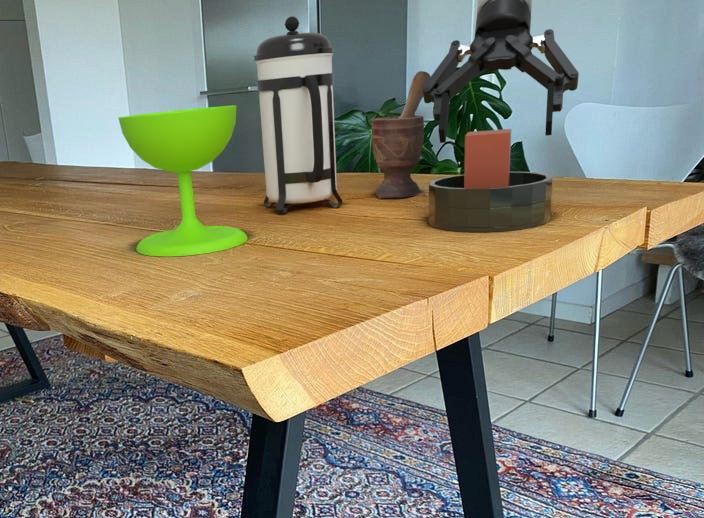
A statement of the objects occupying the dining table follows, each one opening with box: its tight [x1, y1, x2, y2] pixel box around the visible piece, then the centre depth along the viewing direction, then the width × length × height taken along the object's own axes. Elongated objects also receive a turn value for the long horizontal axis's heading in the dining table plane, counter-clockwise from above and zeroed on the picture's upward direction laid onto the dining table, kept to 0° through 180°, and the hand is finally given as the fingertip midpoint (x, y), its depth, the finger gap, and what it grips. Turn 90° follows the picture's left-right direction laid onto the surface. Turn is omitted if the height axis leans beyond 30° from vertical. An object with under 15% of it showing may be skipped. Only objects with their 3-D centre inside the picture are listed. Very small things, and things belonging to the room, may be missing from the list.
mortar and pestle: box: [370, 70, 432, 200], centre depth 126 cm, size 12×9×20 cm
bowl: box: [428, 171, 553, 233], centre depth 99 cm, size 15×16×6 cm
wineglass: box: [117, 105, 248, 257], centre depth 102 cm, size 16×16×18 cm
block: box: [463, 128, 512, 188], centre depth 99 cm, size 6×6×11 cm
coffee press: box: [253, 15, 344, 215], centre depth 120 cm, size 17×16×30 cm
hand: (493, 132), depth 100 cm, fingers open, 13 cm apart
